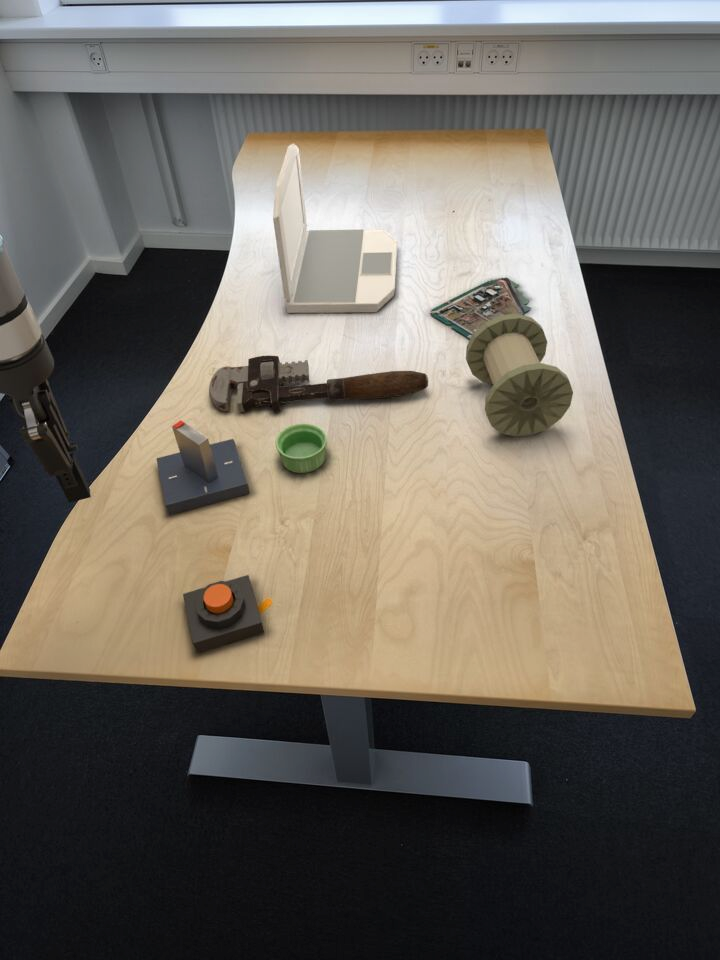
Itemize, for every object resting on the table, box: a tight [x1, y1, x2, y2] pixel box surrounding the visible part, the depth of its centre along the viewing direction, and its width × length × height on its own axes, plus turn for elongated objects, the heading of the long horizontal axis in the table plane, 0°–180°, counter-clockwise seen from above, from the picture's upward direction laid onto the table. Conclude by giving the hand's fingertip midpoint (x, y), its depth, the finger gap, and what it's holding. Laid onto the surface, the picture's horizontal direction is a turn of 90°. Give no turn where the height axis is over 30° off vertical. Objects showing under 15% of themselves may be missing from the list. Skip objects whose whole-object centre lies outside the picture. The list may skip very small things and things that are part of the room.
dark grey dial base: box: [156, 438, 251, 516], centre depth 128 cm, size 14×12×3 cm
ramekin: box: [275, 423, 328, 474], centre depth 130 cm, size 9×9×4 cm
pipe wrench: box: [208, 355, 429, 413], centre depth 143 cm, size 43×13×5 cm, turn 93°
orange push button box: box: [182, 574, 265, 654], centre depth 107 cm, size 10×9×4 cm
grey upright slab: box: [171, 419, 218, 482], centre depth 124 cm, size 7×2×9 cm, turn 48°
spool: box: [465, 314, 574, 438], centre depth 133 cm, size 16×15×15 cm
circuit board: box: [429, 276, 532, 340], centre depth 161 cm, size 23×15×1 cm, turn 128°
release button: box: [204, 584, 233, 614], centre depth 105 cm, size 4×4×2 cm
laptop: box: [272, 143, 398, 314], centre depth 165 cm, size 33×24×26 cm
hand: (79, 495), depth 94 cm, fingers closed
